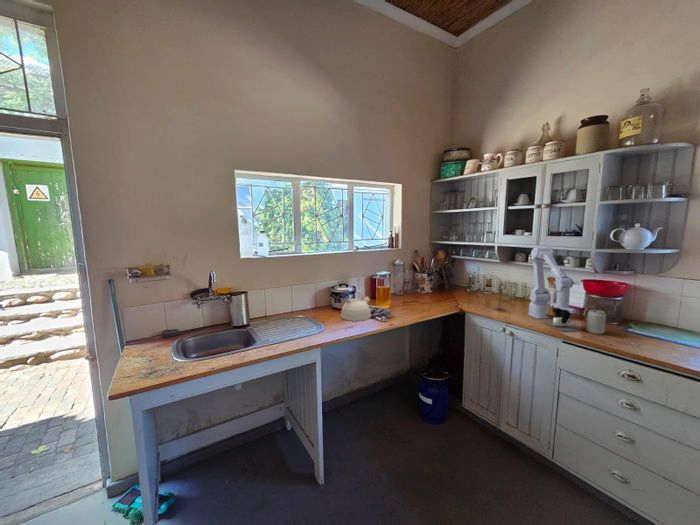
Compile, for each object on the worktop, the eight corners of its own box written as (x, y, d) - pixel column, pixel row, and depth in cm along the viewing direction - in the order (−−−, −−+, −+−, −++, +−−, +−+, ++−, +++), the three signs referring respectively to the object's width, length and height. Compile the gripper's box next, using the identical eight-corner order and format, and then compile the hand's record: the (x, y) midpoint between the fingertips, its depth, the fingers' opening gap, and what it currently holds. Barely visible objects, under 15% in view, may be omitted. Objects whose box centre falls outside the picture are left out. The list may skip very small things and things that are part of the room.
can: (584, 329, 158) (586, 308, 157) (602, 331, 154) (604, 309, 153) (587, 333, 152) (589, 311, 150) (606, 335, 148) (608, 313, 146)
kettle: (376, 318, 185) (376, 291, 182) (347, 323, 177) (346, 294, 175) (364, 310, 203) (363, 285, 201) (336, 314, 196) (335, 288, 194)
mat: (543, 323, 168) (543, 322, 168) (558, 322, 169) (559, 321, 169) (563, 331, 154) (563, 331, 154) (579, 330, 155) (580, 330, 155)
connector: (556, 326, 160) (556, 319, 159) (551, 324, 163) (551, 317, 162) (571, 325, 160) (571, 318, 160) (566, 323, 164) (566, 316, 163)
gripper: (546, 296, 167) (544, 318, 168) (567, 302, 152) (565, 326, 154) (557, 295, 167) (555, 317, 169) (579, 301, 153) (577, 326, 155)
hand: (561, 322), depth 161 cm, fingers closed on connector, 3 cm apart
